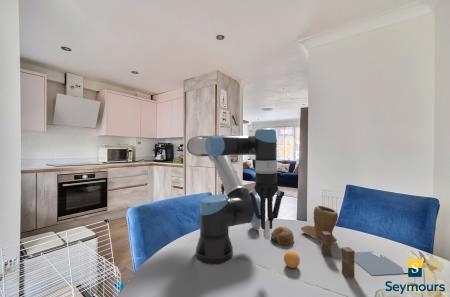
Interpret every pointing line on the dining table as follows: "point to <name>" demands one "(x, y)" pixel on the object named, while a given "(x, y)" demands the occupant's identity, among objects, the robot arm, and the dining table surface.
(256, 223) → the donut
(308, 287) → the dining table surface
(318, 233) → the brown boot
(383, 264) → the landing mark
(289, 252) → the ball
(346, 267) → the gate post right
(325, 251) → the gate post left
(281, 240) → the bread roll
